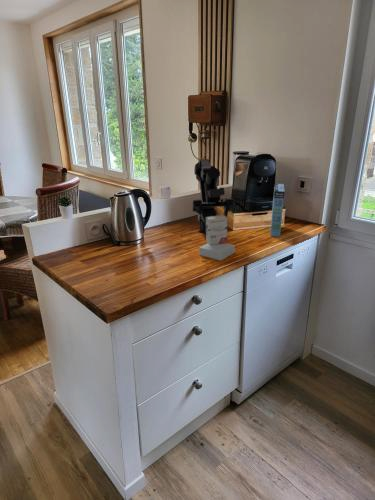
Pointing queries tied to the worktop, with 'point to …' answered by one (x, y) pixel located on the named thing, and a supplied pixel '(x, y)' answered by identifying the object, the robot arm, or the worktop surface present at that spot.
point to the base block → (216, 250)
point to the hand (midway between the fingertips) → (215, 221)
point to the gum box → (277, 210)
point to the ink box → (216, 229)
